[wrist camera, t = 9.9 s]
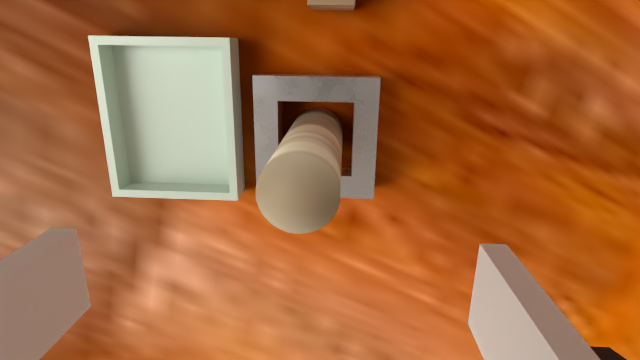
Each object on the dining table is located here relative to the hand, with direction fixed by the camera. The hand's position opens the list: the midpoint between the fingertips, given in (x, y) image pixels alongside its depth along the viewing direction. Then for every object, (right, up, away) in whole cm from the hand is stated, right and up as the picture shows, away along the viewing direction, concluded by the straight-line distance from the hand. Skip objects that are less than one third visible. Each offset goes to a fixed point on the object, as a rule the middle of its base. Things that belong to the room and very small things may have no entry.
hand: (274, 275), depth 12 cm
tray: (-10, +8, +20) cm, 24 cm away
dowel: (+1, +7, +20) cm, 21 cm away
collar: (+1, +7, +20) cm, 21 cm away
